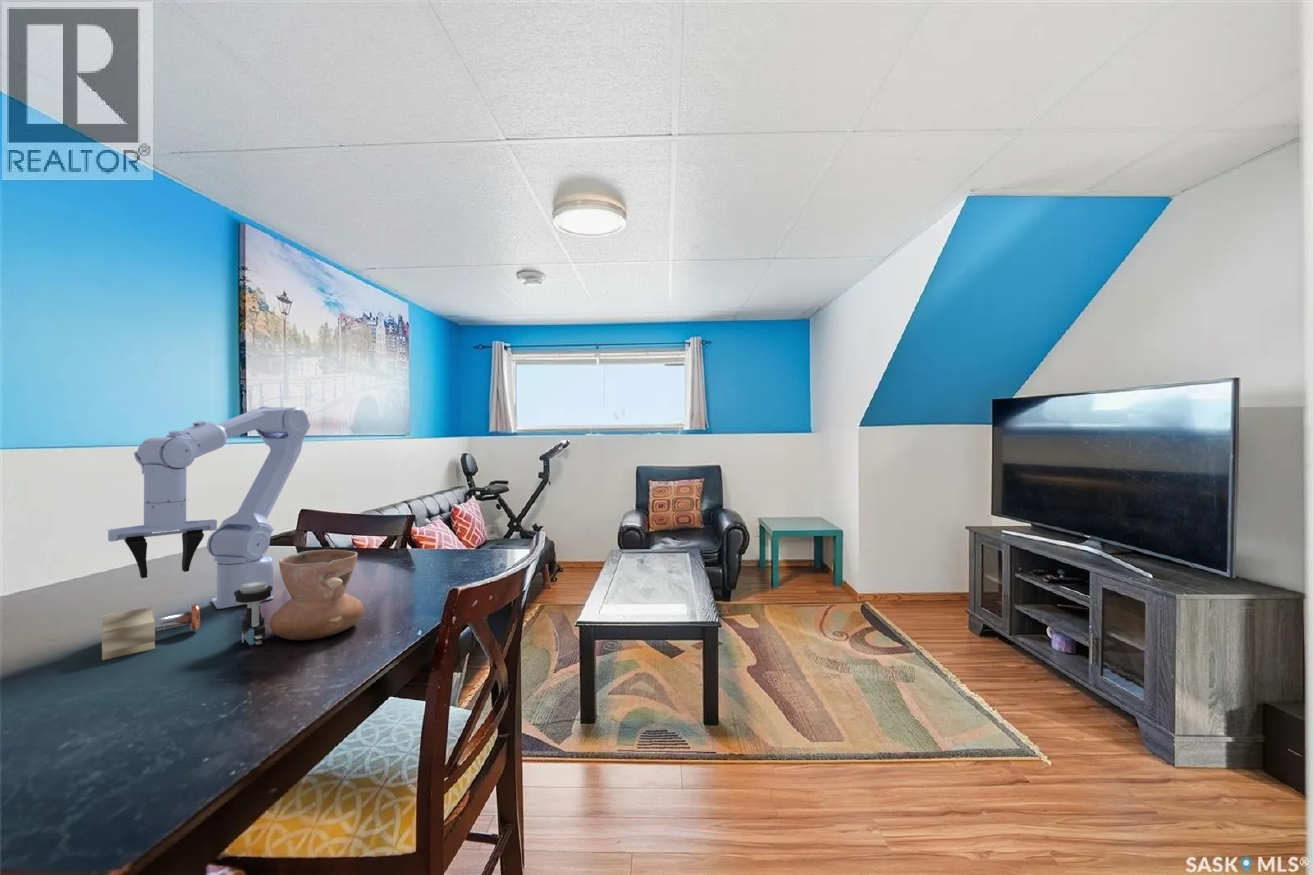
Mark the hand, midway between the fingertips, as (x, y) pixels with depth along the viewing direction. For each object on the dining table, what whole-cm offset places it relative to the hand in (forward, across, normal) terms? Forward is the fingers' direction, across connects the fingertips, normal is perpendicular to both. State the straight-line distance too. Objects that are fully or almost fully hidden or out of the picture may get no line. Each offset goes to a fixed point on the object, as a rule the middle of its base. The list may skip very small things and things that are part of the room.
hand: (165, 573), depth 95 cm
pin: (+9, +2, +7) cm, 12 cm away
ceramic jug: (+10, -18, +23) cm, 31 cm away
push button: (+10, -9, +21) cm, 25 cm away
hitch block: (+10, +5, +7) cm, 13 cm away
